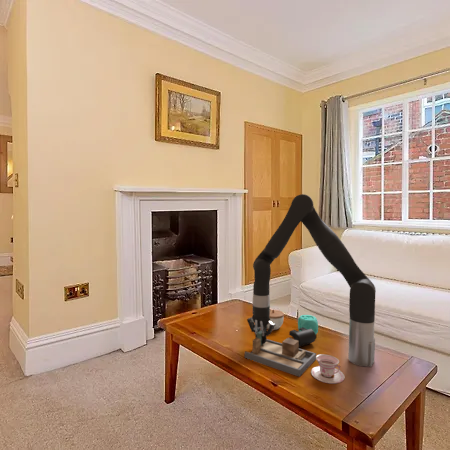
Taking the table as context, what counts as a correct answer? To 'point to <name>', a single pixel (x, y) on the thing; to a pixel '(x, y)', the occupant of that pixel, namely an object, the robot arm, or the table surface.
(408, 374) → the table surface
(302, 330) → the end cap
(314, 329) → the decorative dice
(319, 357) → the teacup
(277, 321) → the lidded jar
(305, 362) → the tray
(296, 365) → the strip
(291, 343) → the walnut cube
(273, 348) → the strip
